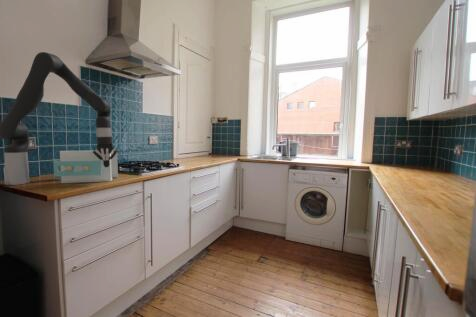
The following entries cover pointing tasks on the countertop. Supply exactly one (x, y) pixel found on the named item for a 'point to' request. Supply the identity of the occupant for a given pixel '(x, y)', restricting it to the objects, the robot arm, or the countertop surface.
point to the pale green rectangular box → (84, 157)
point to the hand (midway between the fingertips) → (106, 166)
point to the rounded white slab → (114, 166)
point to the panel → (93, 170)
